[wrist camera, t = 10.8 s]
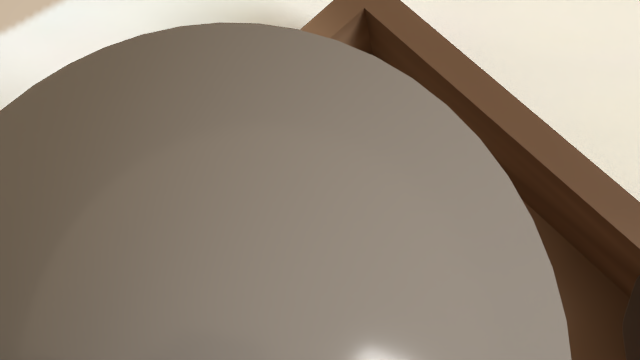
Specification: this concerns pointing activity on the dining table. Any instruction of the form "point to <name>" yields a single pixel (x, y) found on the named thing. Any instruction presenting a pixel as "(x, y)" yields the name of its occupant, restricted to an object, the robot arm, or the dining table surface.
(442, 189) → the canister
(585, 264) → the tray
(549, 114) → the dining table surface
